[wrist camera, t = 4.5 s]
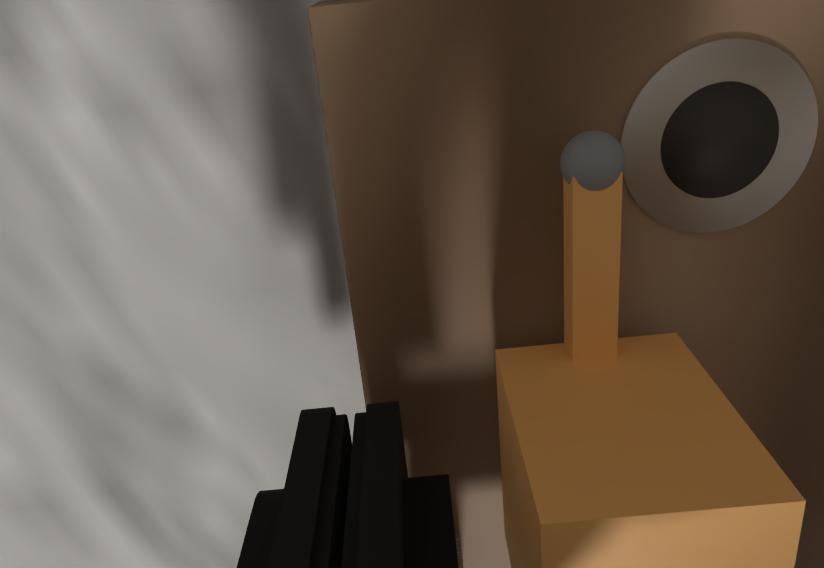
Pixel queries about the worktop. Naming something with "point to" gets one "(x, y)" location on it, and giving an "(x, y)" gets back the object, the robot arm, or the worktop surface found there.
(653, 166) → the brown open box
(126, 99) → the worktop surface
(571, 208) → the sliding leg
